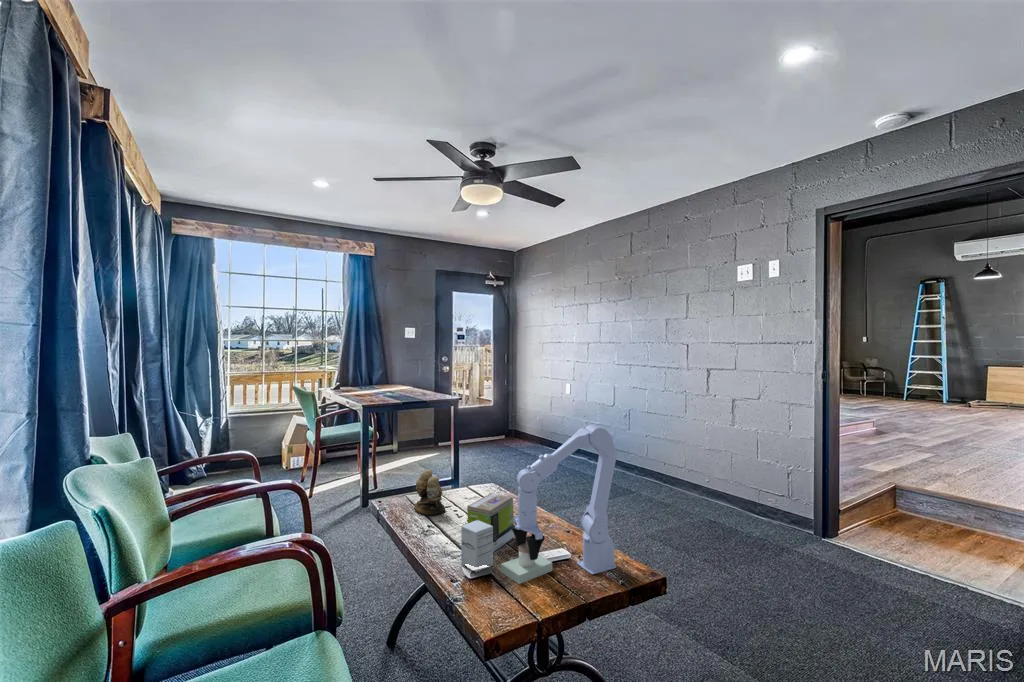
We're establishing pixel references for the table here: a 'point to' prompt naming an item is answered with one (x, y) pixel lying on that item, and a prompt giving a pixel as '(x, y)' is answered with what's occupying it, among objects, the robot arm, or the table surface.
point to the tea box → (494, 516)
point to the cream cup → (525, 556)
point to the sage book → (525, 569)
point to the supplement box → (477, 544)
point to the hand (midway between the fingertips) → (527, 554)
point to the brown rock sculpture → (429, 495)
